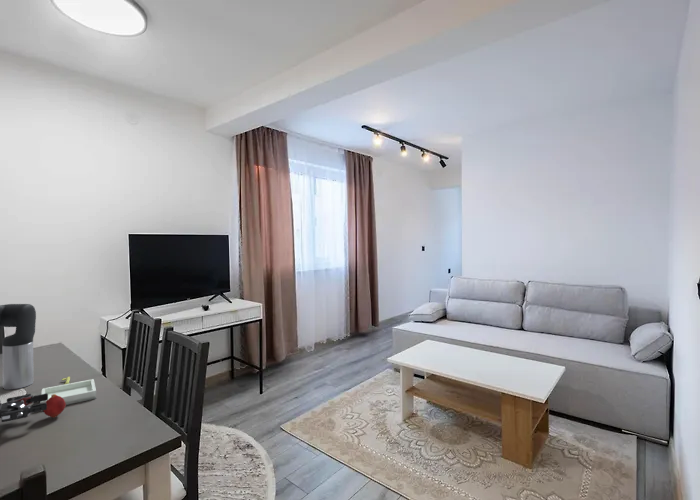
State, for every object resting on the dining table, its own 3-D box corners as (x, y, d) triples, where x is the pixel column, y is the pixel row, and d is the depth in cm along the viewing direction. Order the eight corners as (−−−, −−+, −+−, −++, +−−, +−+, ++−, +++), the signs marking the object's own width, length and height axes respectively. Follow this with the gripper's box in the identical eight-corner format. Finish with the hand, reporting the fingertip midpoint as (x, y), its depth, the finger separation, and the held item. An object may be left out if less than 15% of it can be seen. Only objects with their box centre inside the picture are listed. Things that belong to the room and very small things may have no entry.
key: (69, 380, 153) (69, 375, 153) (78, 389, 145) (78, 383, 145) (48, 386, 147) (48, 380, 147) (56, 394, 139) (55, 389, 139)
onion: (51, 413, 124) (51, 390, 123) (69, 412, 124) (69, 390, 124) (38, 421, 118) (38, 397, 118) (57, 421, 118) (57, 397, 118)
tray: (42, 396, 136) (42, 388, 136) (93, 386, 146) (93, 379, 146) (40, 410, 125) (40, 402, 125) (96, 398, 135) (96, 390, 135)
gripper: (-27, 412, 104) (46, 397, 114) (-18, 395, 115) (48, 383, 125) (-27, 437, 104) (46, 420, 114) (-18, 418, 115) (48, 404, 125)
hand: (47, 401), depth 120 cm, fingers open, 8 cm apart
